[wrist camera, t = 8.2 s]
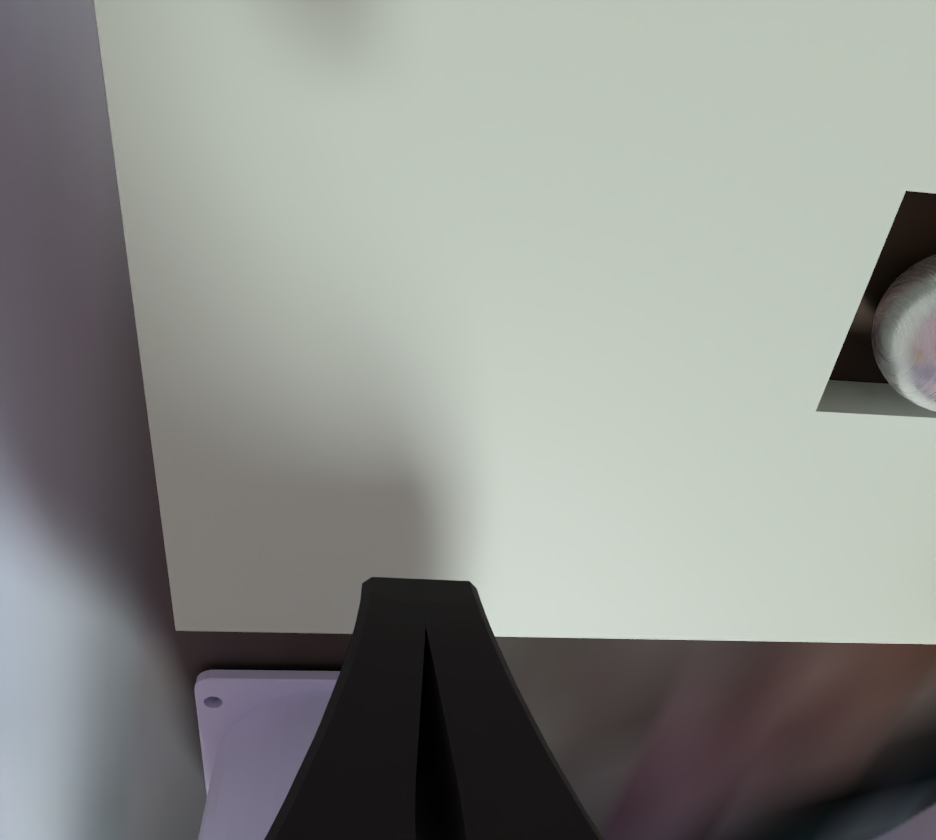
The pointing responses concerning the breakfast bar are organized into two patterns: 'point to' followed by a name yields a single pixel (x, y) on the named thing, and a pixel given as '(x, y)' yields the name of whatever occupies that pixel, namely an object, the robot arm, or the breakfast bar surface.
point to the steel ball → (909, 334)
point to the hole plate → (527, 309)
